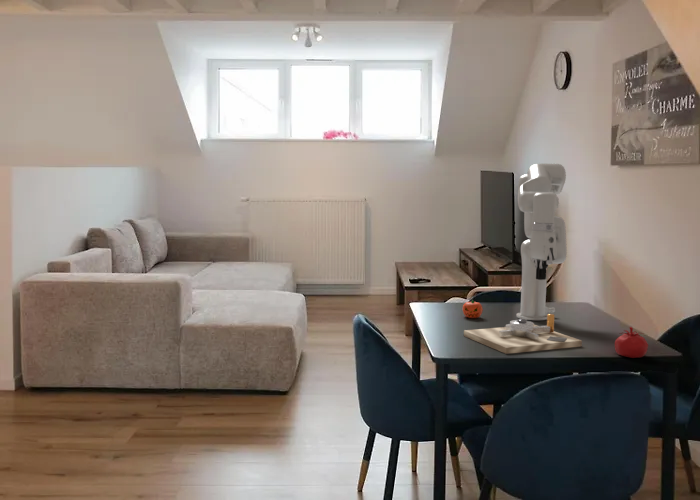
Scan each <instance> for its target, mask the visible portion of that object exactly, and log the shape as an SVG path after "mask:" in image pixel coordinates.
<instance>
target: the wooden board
mask: <svg viewBox="0 0 700 500" xmlns="http://www.w3.org/2000/svg"><path fill="white" fill-rule="evenodd" d="M535 326H538V325H537V324H534V327H535ZM502 330H507V329H506V326H504V327H503V326H502V327H500V326H499V327H491V328H490V327H488V328H479V329H467V330H466V329H464V330H463V337H465V338H468V339H470V340H472V341H475V342H477V343H479V344H482V345H484V346H487V347H489V348H490V349H491V348H492V349H493V350H496V351H498V352H501V353H502V354H506V355H507V354H519V353H526V352H528V353H529V352H538V351H539V352H540V351H548V350H557V349H569V348H579V347H582V346H583V344H582V343H583V340H582V339H578V338H575V337H572V336H569V335H567V334H563V333H560V332H557V331H554V332H546V333H535V334H538V339H536V340H534V339H532V338H529V337H521V336H514V335H510V336H500V335H499V331H502Z"/></svg>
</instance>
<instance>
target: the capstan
mask: <svg viewBox="0 0 700 500" xmlns="http://www.w3.org/2000/svg"><path fill="white" fill-rule="evenodd" d="M534 325H535V322H534V321H532V320H526V319H520V318H517V319H515V320H510V321H509V323H508V324H505V327H506V329H507V330H502V331H499V335H500V336H510V335H514V336H521V337H529V338H532V339H534V340H536V339H538V334H535V333H546V332H554V330H555V314H554V313H547V320H546V325H537V326H535V327H534Z"/></svg>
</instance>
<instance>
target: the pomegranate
mask: <svg viewBox="0 0 700 500" xmlns="http://www.w3.org/2000/svg"><path fill="white" fill-rule="evenodd" d="M633 330H634V328H633V327H632V326H630V327H629V330H625V329H624V332H619V334H620V335H619V336H618V337H617V338H616V339H615V341H614V350H615V352H616V354H617V355H619V356H622V357H626V358H631V359H636V358H638V359H639V358H643V357H644V356H646V354H647V353H648V348H649V343H648V342H647V340H646V339H645V337H644V336H642V335H640V333H639V332H637V331H636V330H635V331H633ZM621 334H622V335H621ZM641 334H643V335H644V333H642V332H641Z"/></svg>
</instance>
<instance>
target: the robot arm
mask: <svg viewBox="0 0 700 500" xmlns="http://www.w3.org/2000/svg"><path fill="white" fill-rule="evenodd" d="M566 179H567V172H566V169H565V166H563V164H560V163H535V164H532V165H531V166H529V168H528V170H527V173H526V174H523V175H521V176H520V177H519V178H518V182H517V187H518V191H517V206H518V209H519V211H520V212H523V213H524V214H523V215H524V217H523V218H524V219H523V221H524V222H523V224H524V225H523V226H524V227H523V228H524V234H525V236H526V238H528V239H526V240H524V241H523V242H522V243H521V245H520V256H521V289H520V290H521V291H520V311H519V312H517V313H516V318H517V319H526V321H547V314H550V313H555V312H556V308H555V307H548V306H546V299H547V297H546V296H547V277H548V276H547V269H548V267H549V266H550V265H554V264H555V265H557V264H563V263H565V261H566V259H567V253H568V252H567V251H568V250H567V230H566V222H565V220H564V219H563V218H562V217H560V216H557V215H556V214H555V213H556V211H557V209H558V208H559V204H560V203H559V196H557V195H559V194H560V193H562V191H563V188H564V185H565V183H566Z"/></svg>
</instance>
